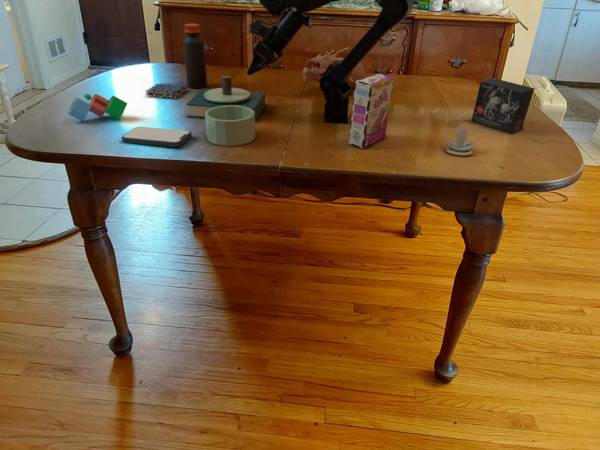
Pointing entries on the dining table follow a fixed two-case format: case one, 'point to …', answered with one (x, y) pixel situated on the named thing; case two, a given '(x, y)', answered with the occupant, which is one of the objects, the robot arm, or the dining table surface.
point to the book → (201, 105)
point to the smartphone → (157, 136)
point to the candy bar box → (370, 110)
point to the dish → (230, 125)
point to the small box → (502, 105)
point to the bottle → (194, 57)
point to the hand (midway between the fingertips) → (251, 72)
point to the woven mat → (166, 90)
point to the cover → (226, 93)
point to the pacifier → (460, 143)
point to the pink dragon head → (322, 64)
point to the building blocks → (97, 107)
